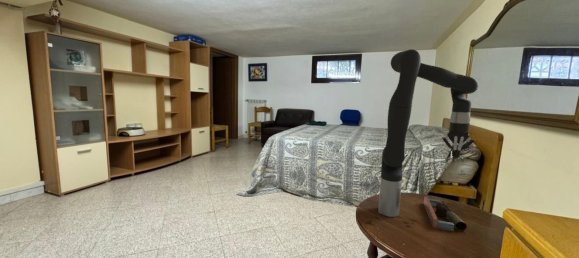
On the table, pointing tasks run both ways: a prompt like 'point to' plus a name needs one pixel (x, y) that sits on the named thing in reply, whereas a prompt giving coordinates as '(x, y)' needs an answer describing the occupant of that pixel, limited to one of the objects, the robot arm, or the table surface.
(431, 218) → the brown pull handle
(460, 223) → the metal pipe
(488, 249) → the table surface
